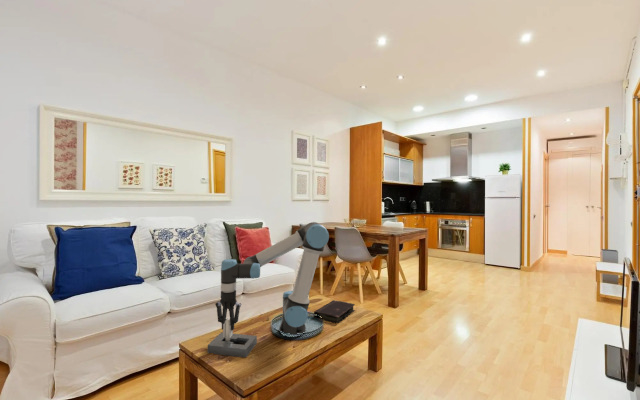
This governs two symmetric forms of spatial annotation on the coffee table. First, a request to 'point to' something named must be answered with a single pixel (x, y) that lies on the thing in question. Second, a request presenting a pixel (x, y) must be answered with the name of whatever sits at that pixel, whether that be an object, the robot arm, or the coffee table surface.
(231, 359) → the coffee table surface
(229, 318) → the peg
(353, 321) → the coffee table surface
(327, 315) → the diary
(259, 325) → the coffee table surface
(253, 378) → the coffee table surface
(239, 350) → the keyhole plate
